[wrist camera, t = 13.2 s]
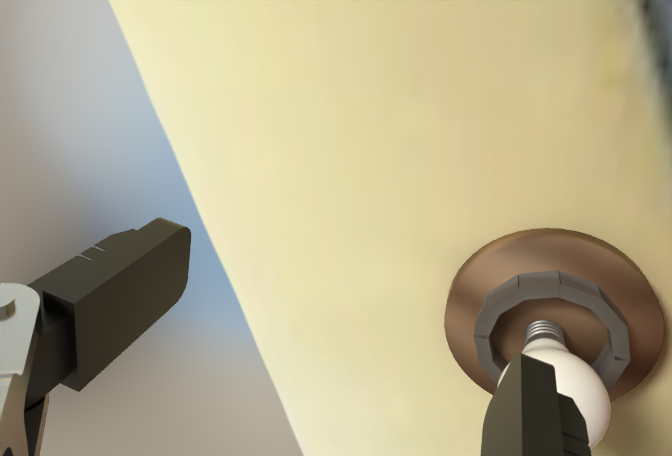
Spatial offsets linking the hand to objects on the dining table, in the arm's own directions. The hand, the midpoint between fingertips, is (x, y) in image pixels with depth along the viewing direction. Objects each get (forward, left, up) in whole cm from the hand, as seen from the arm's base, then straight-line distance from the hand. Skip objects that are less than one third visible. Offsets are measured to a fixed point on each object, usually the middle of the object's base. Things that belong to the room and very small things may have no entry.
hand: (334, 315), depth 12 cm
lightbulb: (+13, +12, -25) cm, 30 cm away
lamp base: (+13, +12, -27) cm, 32 cm away
